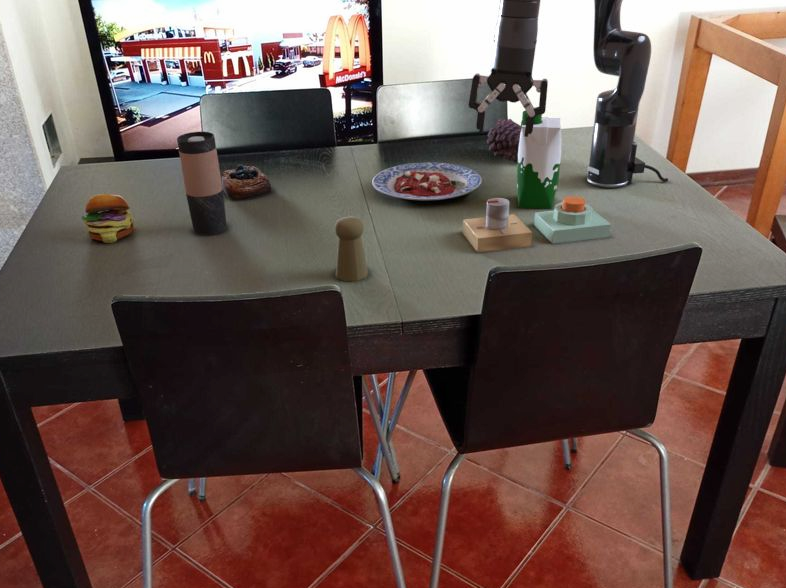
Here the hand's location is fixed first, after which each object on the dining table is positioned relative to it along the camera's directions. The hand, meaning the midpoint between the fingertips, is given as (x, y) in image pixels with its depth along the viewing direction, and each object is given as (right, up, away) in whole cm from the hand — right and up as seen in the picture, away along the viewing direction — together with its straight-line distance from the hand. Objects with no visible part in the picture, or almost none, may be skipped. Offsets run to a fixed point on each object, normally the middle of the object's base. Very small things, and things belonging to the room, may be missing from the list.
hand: (503, 133), depth 145 cm
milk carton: (+11, -9, +25) cm, 29 cm away
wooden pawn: (-29, -27, -3) cm, 40 cm away
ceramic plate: (-12, -3, +35) cm, 37 cm away
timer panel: (0, -19, +8) cm, 21 cm away
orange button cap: (+16, -13, +8) cm, 22 cm away
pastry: (-55, -3, +39) cm, 68 cm away
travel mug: (-60, -15, +19) cm, 65 cm away
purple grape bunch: (+10, +9, +53) cm, 55 cm away
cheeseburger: (-81, -17, +19) cm, 85 cm away
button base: (+16, -17, +10) cm, 25 cm away
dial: (0, -16, +7) cm, 18 cm away
